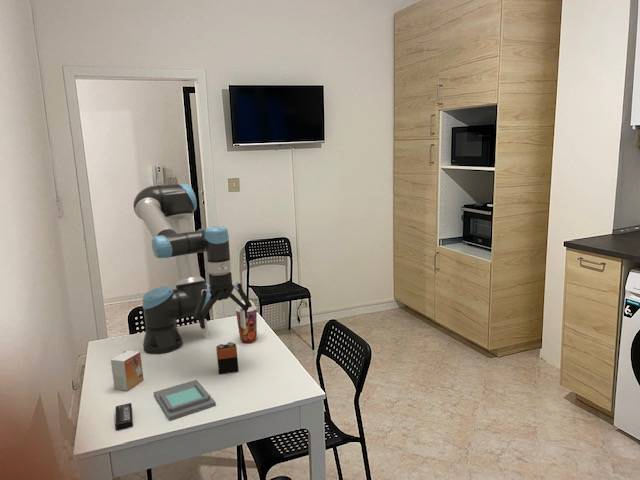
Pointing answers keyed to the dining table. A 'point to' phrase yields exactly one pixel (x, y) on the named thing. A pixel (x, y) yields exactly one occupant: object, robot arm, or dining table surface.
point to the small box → (127, 370)
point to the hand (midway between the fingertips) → (225, 332)
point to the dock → (183, 399)
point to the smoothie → (248, 323)
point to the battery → (227, 358)
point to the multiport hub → (124, 416)
